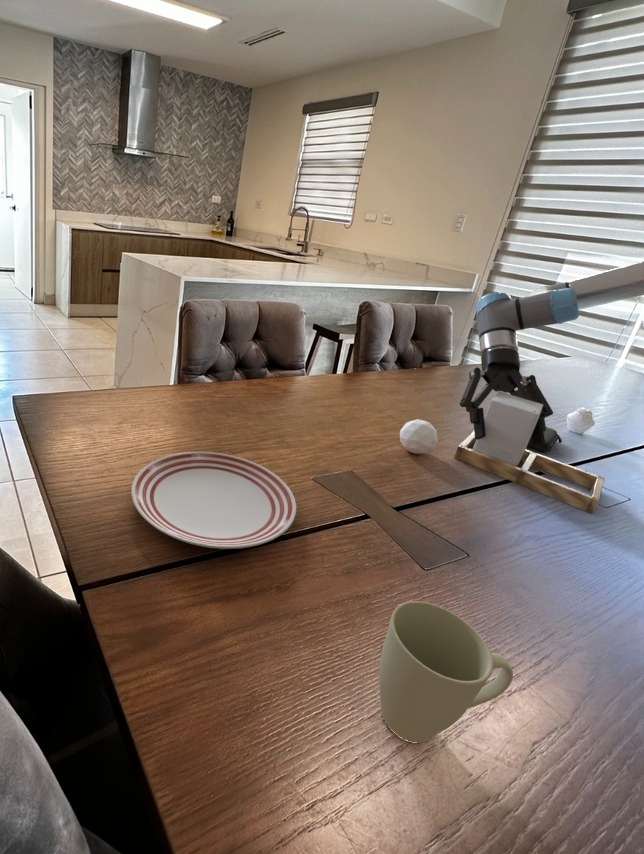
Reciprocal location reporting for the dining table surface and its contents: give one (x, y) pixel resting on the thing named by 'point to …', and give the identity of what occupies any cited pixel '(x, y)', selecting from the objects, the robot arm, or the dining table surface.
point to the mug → (434, 670)
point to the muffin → (580, 420)
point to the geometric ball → (418, 436)
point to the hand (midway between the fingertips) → (509, 441)
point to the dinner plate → (213, 500)
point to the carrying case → (546, 440)
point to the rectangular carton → (508, 427)
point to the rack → (536, 481)
